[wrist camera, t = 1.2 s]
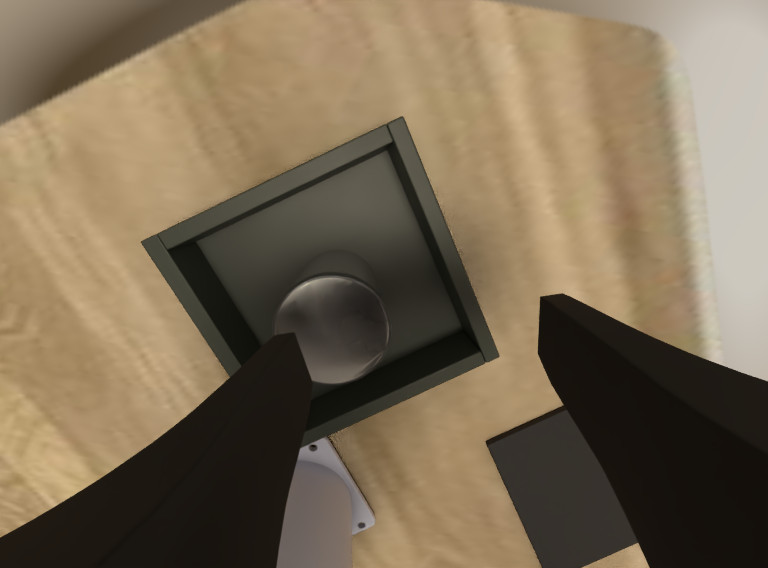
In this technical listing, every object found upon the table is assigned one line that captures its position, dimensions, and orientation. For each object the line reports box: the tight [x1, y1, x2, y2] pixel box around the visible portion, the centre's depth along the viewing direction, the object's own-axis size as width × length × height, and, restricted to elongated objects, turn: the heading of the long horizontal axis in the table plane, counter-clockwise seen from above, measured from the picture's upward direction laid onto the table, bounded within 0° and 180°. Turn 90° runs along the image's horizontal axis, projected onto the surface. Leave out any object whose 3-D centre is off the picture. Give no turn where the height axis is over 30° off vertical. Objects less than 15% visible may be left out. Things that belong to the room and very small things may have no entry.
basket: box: [141, 117, 499, 448], centre depth 18 cm, size 13×13×4 cm
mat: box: [486, 406, 638, 568], centre depth 25 cm, size 14×14×1 cm
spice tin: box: [272, 250, 391, 385], centre depth 16 cm, size 4×4×6 cm
